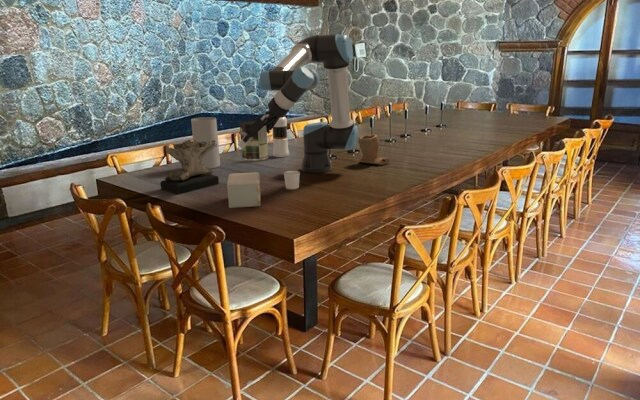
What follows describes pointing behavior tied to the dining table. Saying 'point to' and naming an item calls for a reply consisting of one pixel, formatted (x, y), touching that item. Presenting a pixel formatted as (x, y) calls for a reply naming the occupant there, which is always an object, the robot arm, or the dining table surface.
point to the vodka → (280, 138)
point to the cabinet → (243, 190)
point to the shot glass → (292, 179)
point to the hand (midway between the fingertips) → (247, 144)
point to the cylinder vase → (207, 139)
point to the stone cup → (371, 150)
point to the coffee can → (254, 143)
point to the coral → (190, 168)
